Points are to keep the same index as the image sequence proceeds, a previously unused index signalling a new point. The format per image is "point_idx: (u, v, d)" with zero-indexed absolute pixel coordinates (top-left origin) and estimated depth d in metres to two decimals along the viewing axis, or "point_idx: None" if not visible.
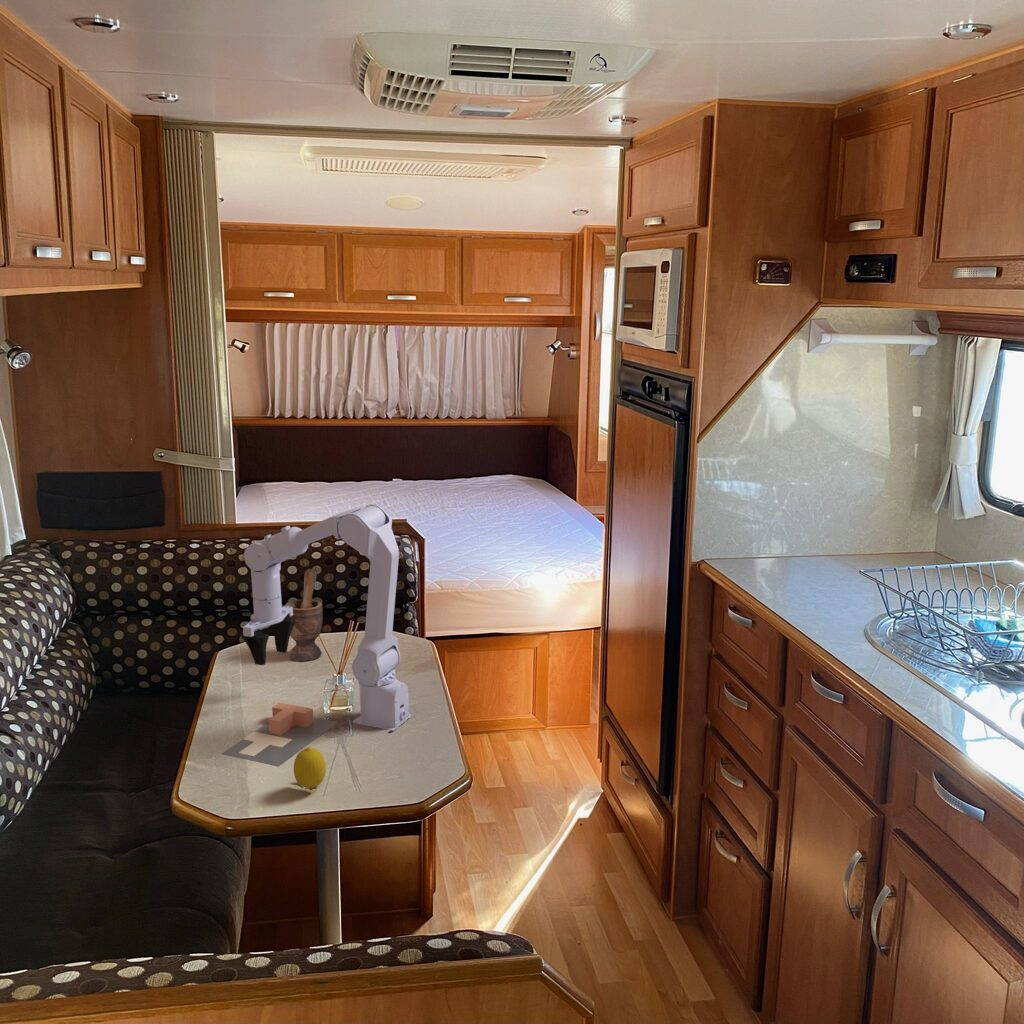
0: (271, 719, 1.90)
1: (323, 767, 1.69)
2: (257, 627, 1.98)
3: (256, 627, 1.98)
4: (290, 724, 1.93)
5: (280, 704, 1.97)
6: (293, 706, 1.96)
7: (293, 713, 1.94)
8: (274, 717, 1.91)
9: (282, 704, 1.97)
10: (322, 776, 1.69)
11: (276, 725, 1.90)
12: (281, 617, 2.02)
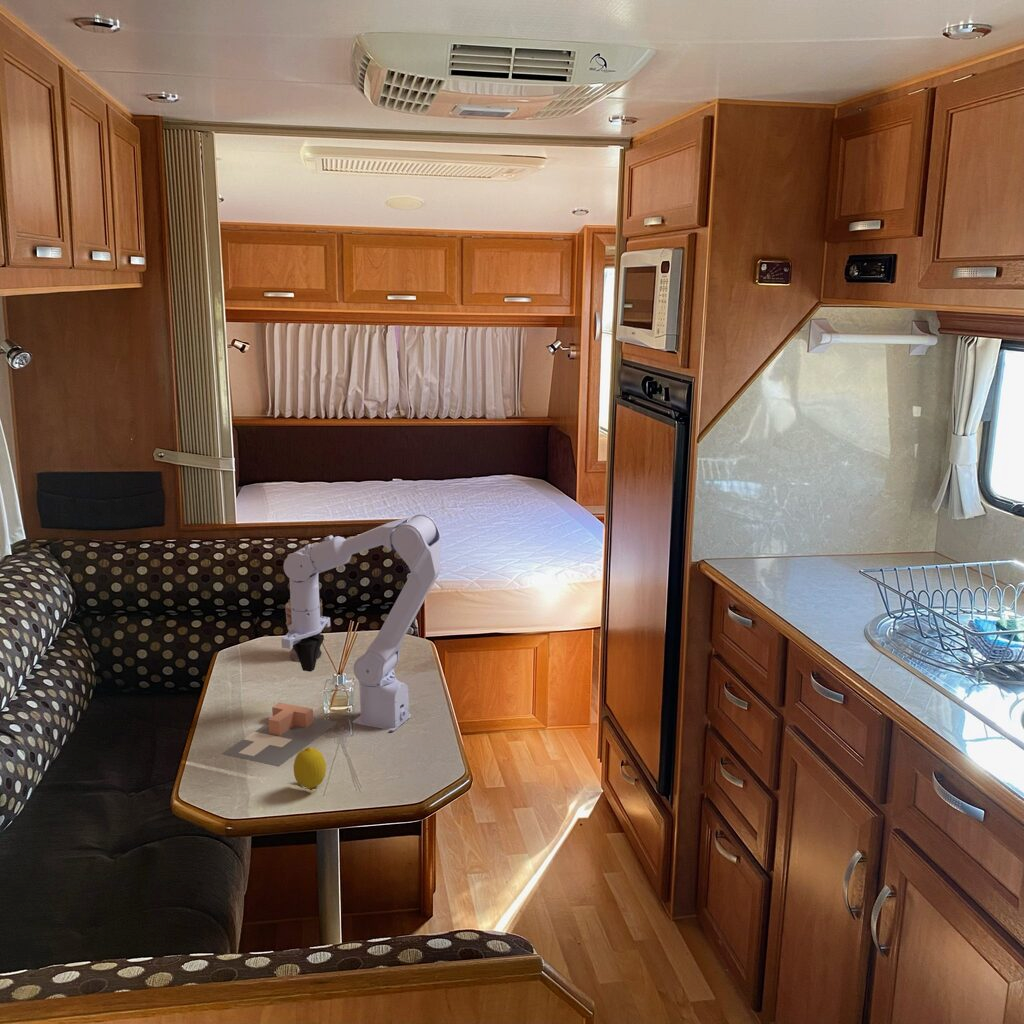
0: (271, 719, 1.90)
1: (323, 767, 1.69)
2: (296, 639, 1.93)
3: (295, 639, 1.92)
4: (290, 724, 1.93)
5: (280, 704, 1.97)
6: (293, 706, 1.96)
7: (293, 713, 1.94)
8: (274, 717, 1.91)
9: (282, 704, 1.97)
10: (322, 776, 1.69)
11: (276, 725, 1.90)
12: (319, 628, 1.97)
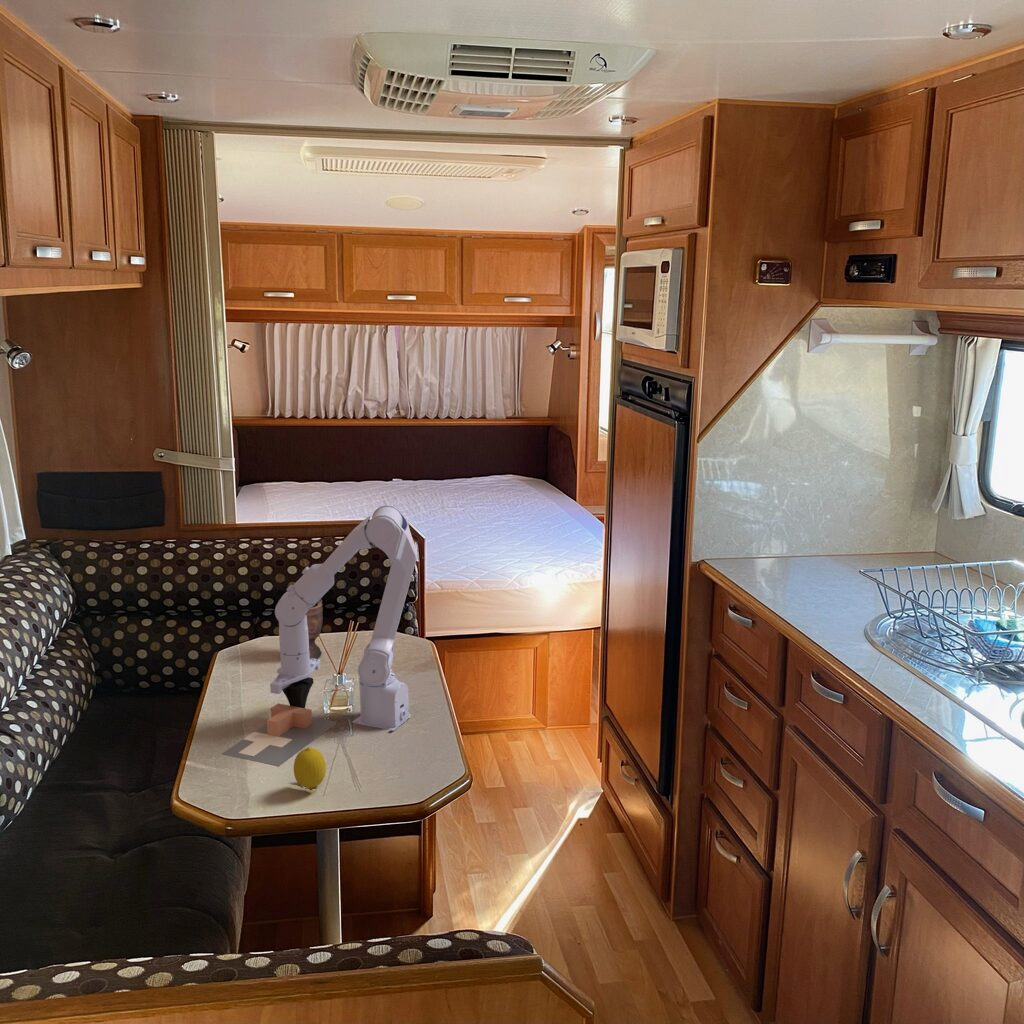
0: (269, 720, 1.90)
1: (323, 767, 1.69)
2: (285, 684, 1.90)
3: (284, 684, 1.90)
4: (288, 725, 1.93)
5: (278, 705, 1.97)
6: (292, 707, 1.96)
7: (292, 714, 1.93)
8: (272, 718, 1.91)
9: (281, 705, 1.97)
10: (322, 776, 1.69)
11: (275, 726, 1.89)
12: (309, 672, 1.95)
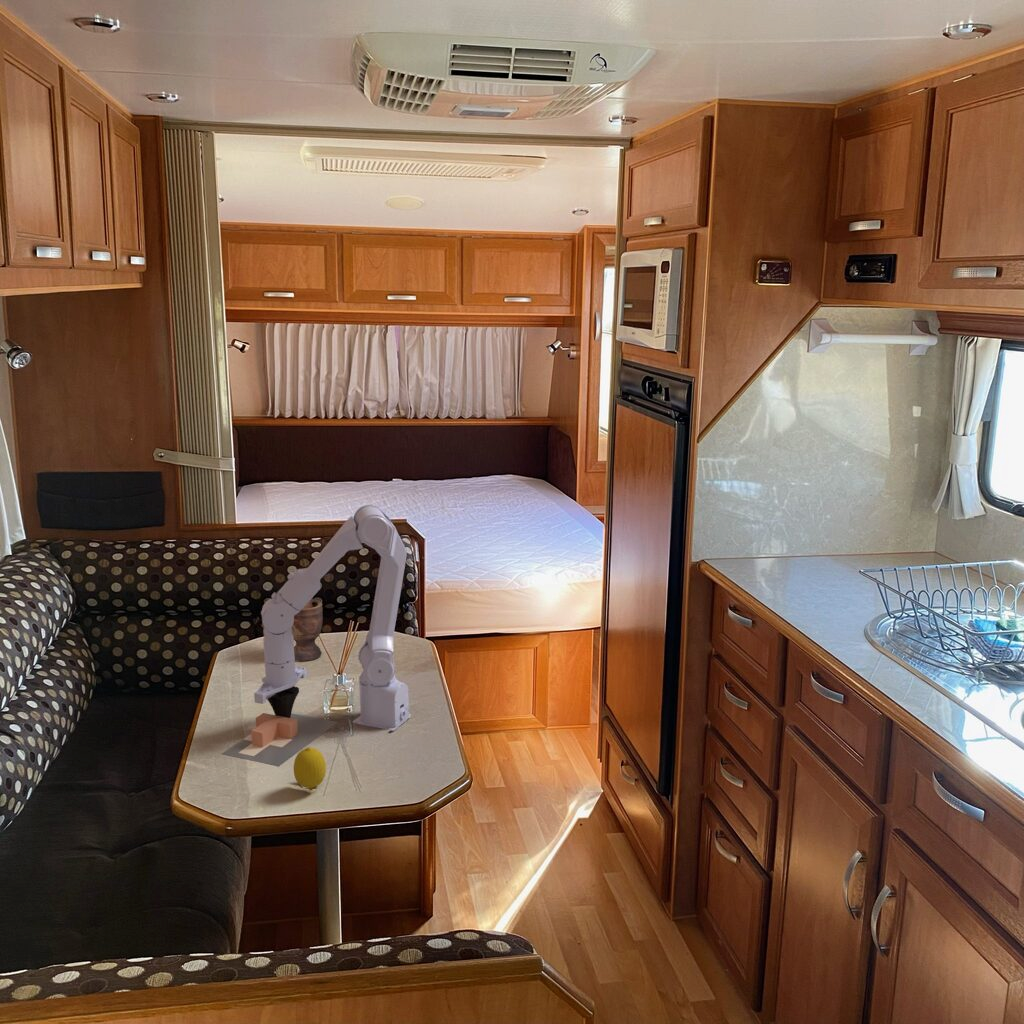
0: (254, 730, 1.86)
1: (323, 767, 1.69)
2: (269, 693, 1.86)
3: (268, 693, 1.86)
4: (274, 735, 1.88)
5: (263, 715, 1.92)
6: (277, 717, 1.91)
7: (277, 724, 1.89)
8: (257, 728, 1.86)
9: (266, 715, 1.92)
10: (322, 776, 1.69)
11: (259, 736, 1.85)
12: (294, 681, 1.90)
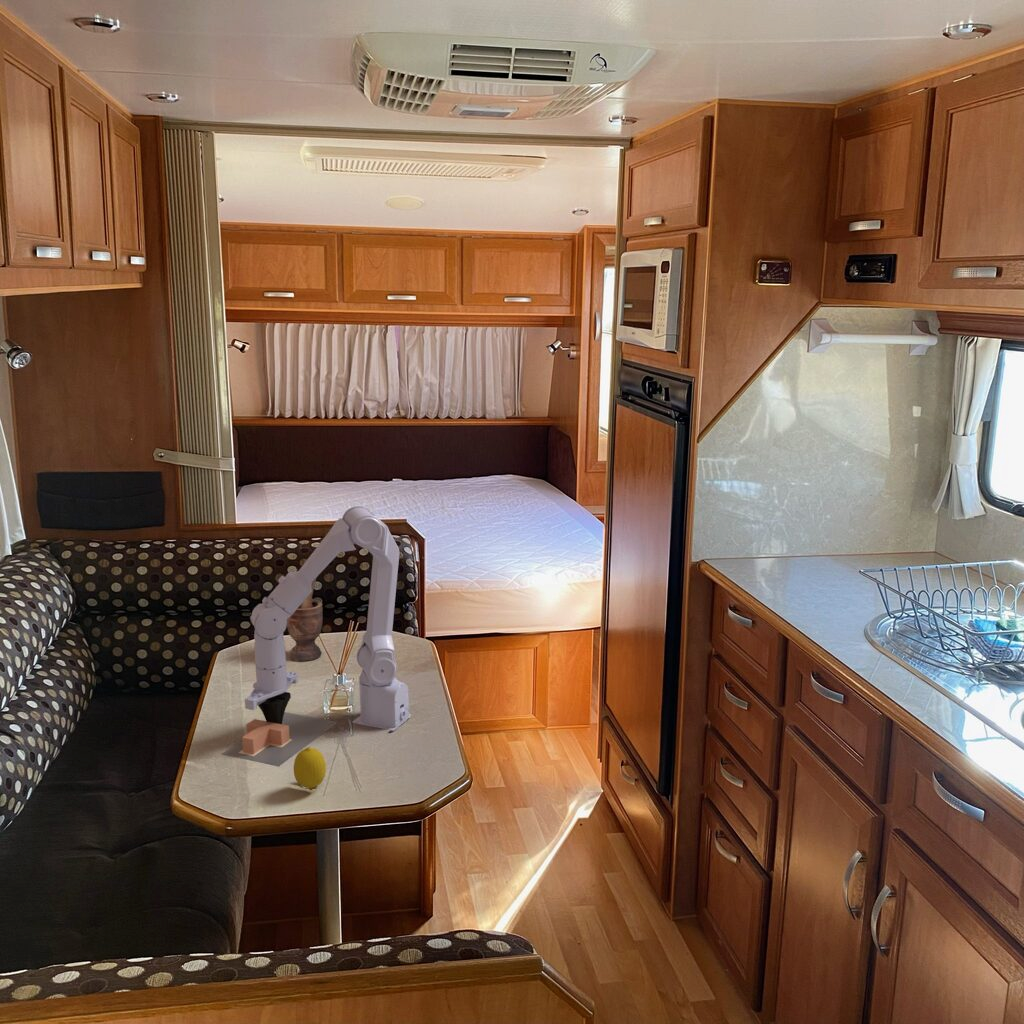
0: (245, 737, 1.83)
1: (323, 767, 1.69)
2: (260, 699, 1.83)
3: (259, 699, 1.83)
4: (265, 742, 1.85)
5: (254, 721, 1.89)
6: (268, 723, 1.89)
7: (268, 730, 1.86)
8: (248, 735, 1.84)
9: (257, 721, 1.90)
10: (322, 776, 1.69)
11: (250, 743, 1.82)
12: (286, 687, 1.88)
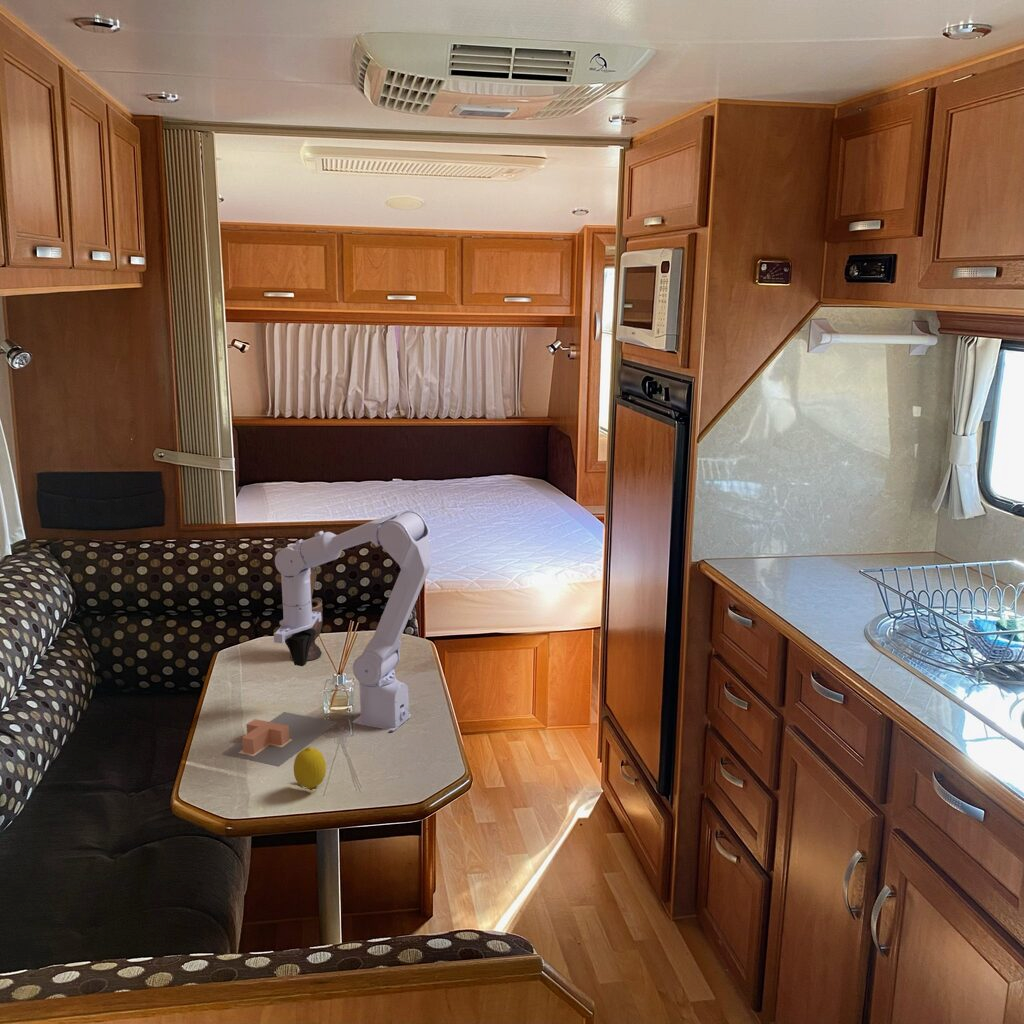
0: (245, 737, 1.83)
1: (323, 767, 1.69)
2: (288, 633, 1.94)
3: (287, 633, 1.94)
4: (265, 742, 1.85)
5: (254, 721, 1.89)
6: (268, 723, 1.89)
7: (268, 730, 1.86)
8: (248, 735, 1.84)
9: (257, 721, 1.90)
10: (322, 776, 1.69)
11: (250, 743, 1.82)
12: (311, 623, 1.99)
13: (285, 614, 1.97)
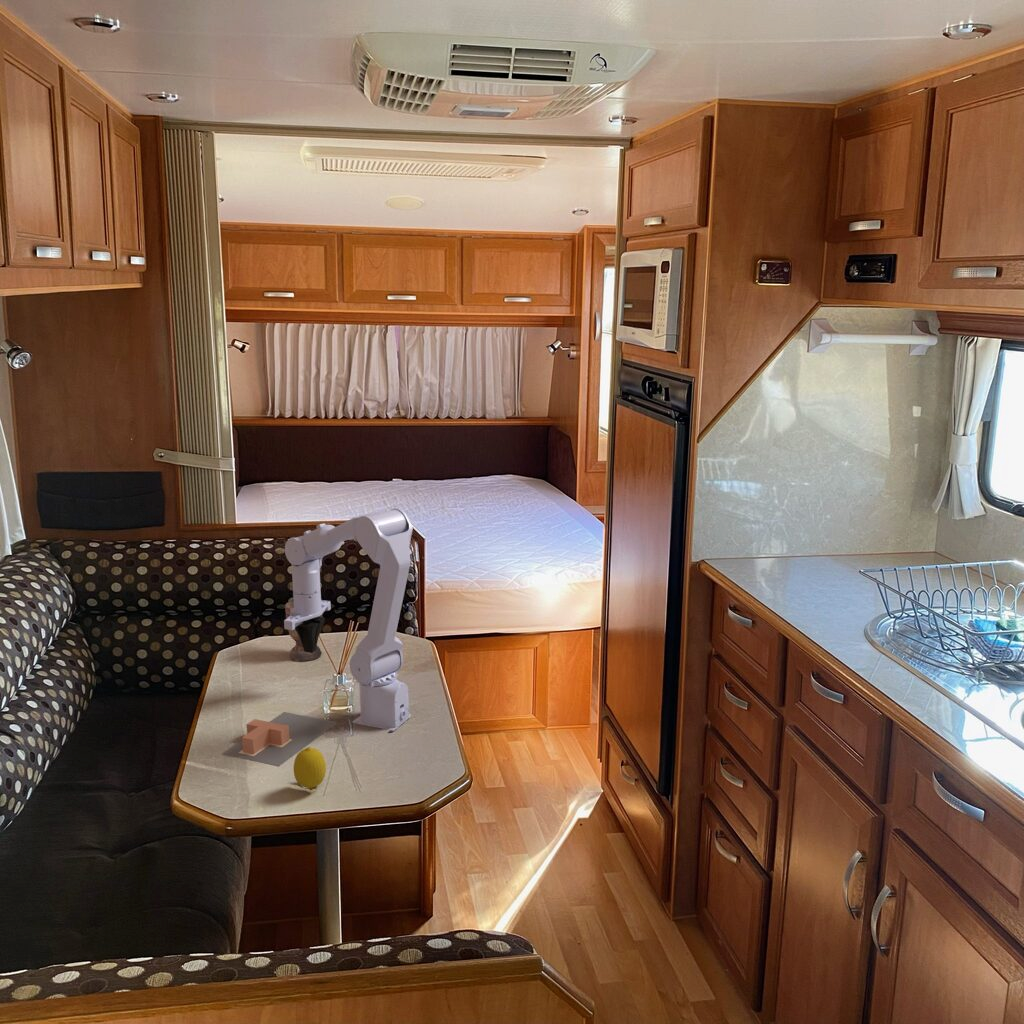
0: (245, 737, 1.83)
1: (323, 767, 1.69)
2: (298, 621, 2.01)
3: (297, 621, 2.01)
4: (265, 742, 1.85)
5: (254, 721, 1.89)
6: (268, 723, 1.89)
7: (268, 730, 1.86)
8: (248, 735, 1.84)
9: (257, 721, 1.90)
10: (322, 776, 1.69)
11: (250, 743, 1.82)
12: (320, 611, 2.06)
13: (295, 602, 2.04)
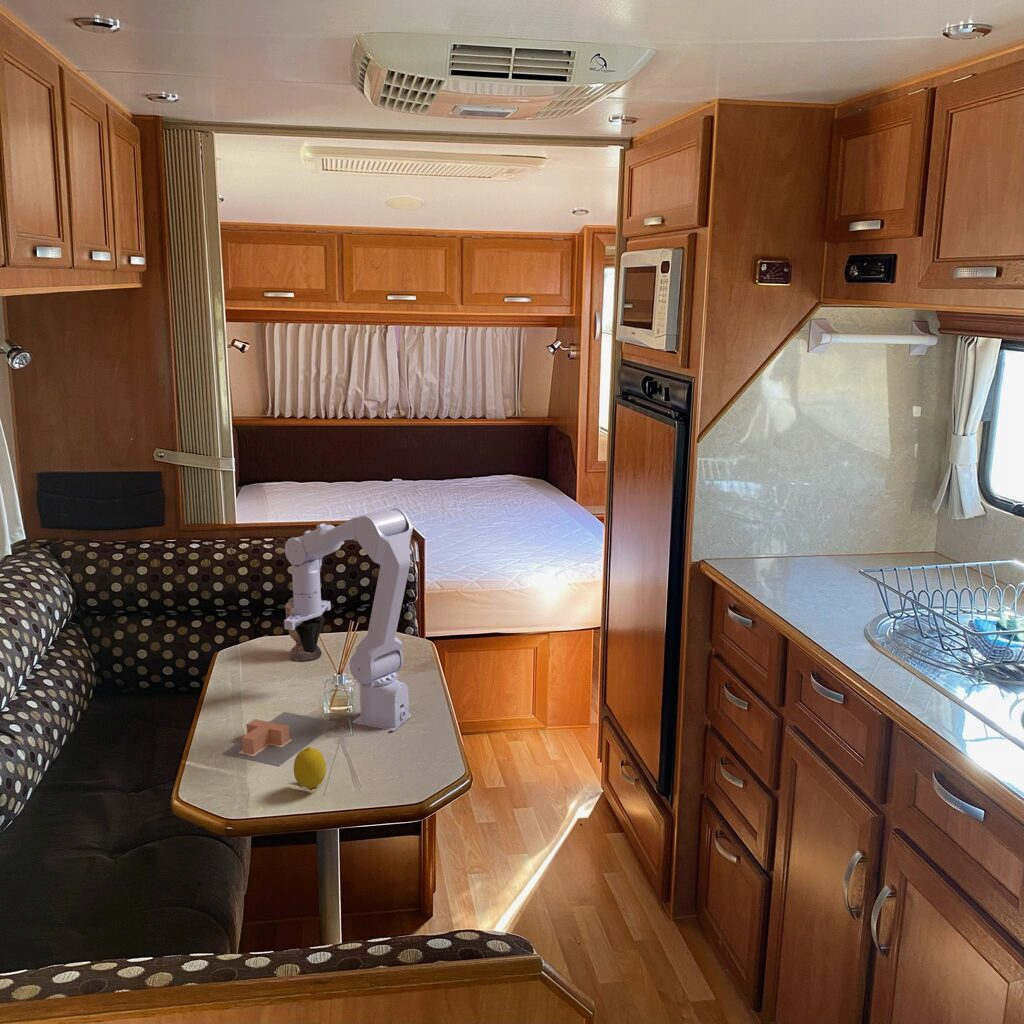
0: (245, 737, 1.83)
1: (323, 767, 1.69)
2: (298, 621, 2.01)
3: (297, 621, 2.01)
4: (265, 742, 1.85)
5: (254, 721, 1.89)
6: (268, 723, 1.89)
7: (268, 730, 1.86)
8: (248, 735, 1.84)
9: (257, 721, 1.90)
10: (322, 776, 1.69)
11: (250, 743, 1.82)
12: (320, 611, 2.06)
13: (295, 602, 2.04)
